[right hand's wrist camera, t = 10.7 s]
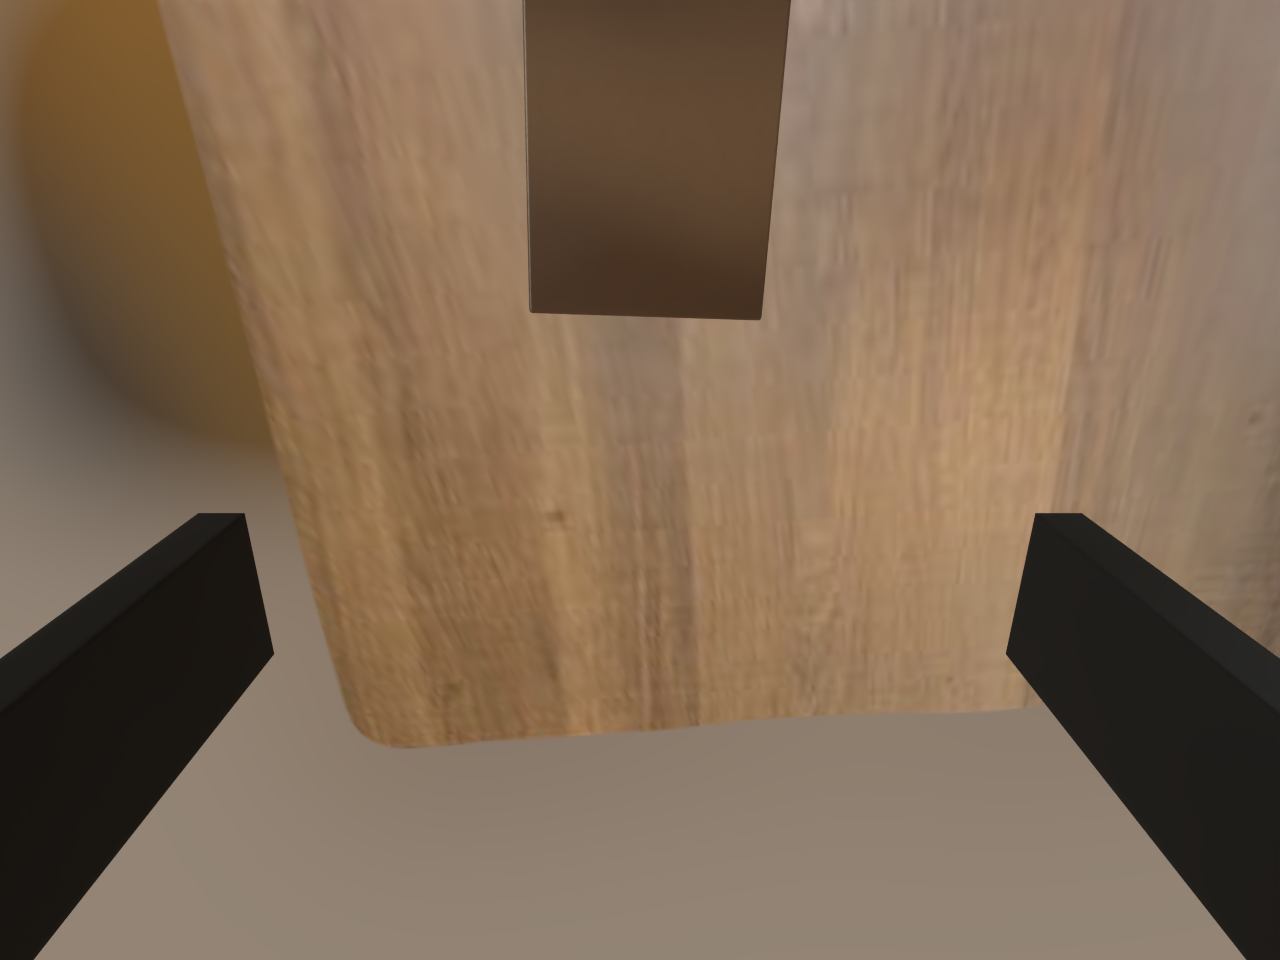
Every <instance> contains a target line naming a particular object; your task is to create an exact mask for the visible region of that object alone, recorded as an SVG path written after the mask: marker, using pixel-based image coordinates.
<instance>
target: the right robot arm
mask: <svg viewBox="0 0 1280 960" xmlns="http://www.w3.org/2000/svg"><path fill="white" fill-rule="evenodd" d="M273 655H274V651H273V646H272V641H271V637H270V632H269V627H268V622H267V618H266V613H265V608H264V603H263V599H262V594H261V589H260V585H259V580H258V575H257V570H256V566H255V561H254V556H253V551H252V547H251V542H250V537H249V532H248V528H247V523H246V518H245V514H244V513H198V514H197V515H195V516H194V517H193V518H191V519H190V520H189V521H187V522H186V523H184V524H183V525H182V526H180V527H179V528H178V529H176V530H175V531H174V532H172V533H171V534H169V535H168V536H167V537H165V538H164V539H163V540H161V541H160V542H159V543H157V544H156V545H154V546H153V547H152V548H151V549H149V550H148V551H146V552H145V553H144V554H142V555H141V556H139V557H138V558H137V559H135V560H134V561H133V562H131V563H130V564H129V565H127V566H126V567H125V568H123V569H122V570H120V571H119V572H118V573H116V574H115V575H114V576H112V577H111V578H110V579H108V580H107V581H105V582H104V583H103V584H101V585H100V586H99V587H97V588H96V589H95V590H93V591H92V592H90V593H89V594H88V595H86V596H85V597H84V598H82V599H81V600H80V601H78V602H77V603H76V604H74V605H73V606H71V607H70V608H69V609H67V610H66V611H65V612H63V613H62V614H61V615H59V616H58V617H56V618H55V619H54V620H52V621H51V622H50V623H48V624H47V625H46V626H44V627H43V628H41V629H40V630H39V631H37V632H36V633H35V634H33V635H32V636H31V637H29V638H28V639H26V640H25V641H24V642H22V643H21V644H20V645H18V646H17V647H16V648H14V649H13V650H12V651H10V652H9V653H7V654H6V655H5V656H3V657H2V658H1V659H0V960H34V959H35V957H36V956H37V955H38V953H39V952H40V951H41V950H42V948H43V947H44V946H45V945H46V943H47V942H48V941H49V939H50V938H51V937H52V936H53V934H54V933H55V932H56V931H57V929H58V928H59V927H60V926H61V924H62V923H63V922H64V920H65V919H66V918H67V917H68V915H69V914H70V913H71V911H72V910H73V909H74V908H75V906H76V905H77V904H78V903H79V901H80V900H81V899H82V898H83V896H84V895H85V894H86V892H87V891H88V890H89V889H90V887H91V886H92V885H93V884H94V882H95V881H96V880H97V879H98V877H99V876H100V875H101V873H102V872H103V871H104V870H105V868H106V867H107V866H108V864H109V863H110V862H111V861H112V859H113V858H114V857H115V856H116V854H117V853H118V852H119V851H120V849H121V848H122V847H123V845H124V844H125V843H126V842H127V840H128V839H129V838H130V837H131V835H132V834H133V833H134V831H135V830H136V829H137V828H138V826H139V825H140V824H141V823H142V821H143V820H144V819H145V817H146V816H147V815H148V814H149V812H150V811H151V810H152V809H153V807H154V806H155V805H156V803H157V802H158V801H159V800H160V798H161V797H162V796H163V795H164V793H165V792H166V791H167V789H168V788H169V787H170V786H171V784H172V783H173V782H174V781H175V779H176V778H177V777H178V776H179V774H180V773H181V772H182V770H183V769H184V768H185V767H186V765H187V764H188V763H189V762H190V760H191V759H192V758H193V756H194V755H195V754H196V753H197V751H198V750H199V749H200V748H201V746H202V745H203V744H204V742H205V741H206V740H207V739H208V737H209V736H210V735H211V734H212V732H213V731H214V730H215V728H216V727H217V726H218V725H219V723H220V722H221V721H222V720H223V718H224V717H225V716H226V714H227V713H228V712H229V711H230V709H231V708H232V707H233V706H234V704H235V703H236V702H237V701H238V699H239V698H240V697H241V695H242V694H243V693H244V692H245V690H246V689H247V688H248V687H249V685H250V684H251V683H252V681H253V680H254V679H255V678H256V676H257V675H258V674H259V673H260V671H261V670H262V669H263V667H264V666H265V665H266V664H267V662H268V661H269V660H270V659H271V657H272V656H273ZM1006 655H1007V656H1008V657H1009V659H1010V660H1011V661H1012V662H1013V664H1014V665H1015V666H1016V667H1017V669H1018V670H1019V671H1020V673H1021V674H1022V675H1023V676H1024V678H1025V679H1026V680H1027V681H1028V683H1029V684H1030V685H1031V687H1032V688H1033V689H1034V690H1035V692H1036V693H1037V694H1038V695H1039V697H1040V698H1041V699H1042V701H1043V702H1044V703H1045V704H1046V706H1047V707H1048V708H1049V709H1050V711H1051V712H1052V713H1053V715H1054V716H1055V717H1056V718H1057V720H1058V721H1059V722H1060V723H1061V725H1062V726H1063V727H1064V729H1065V730H1066V731H1067V732H1068V734H1069V735H1070V736H1071V737H1072V739H1073V740H1074V741H1075V742H1076V744H1077V745H1078V746H1079V748H1080V749H1081V750H1082V751H1083V753H1084V754H1085V755H1086V756H1087V758H1088V759H1089V760H1090V762H1091V763H1092V764H1093V765H1094V767H1095V768H1096V769H1097V770H1098V772H1099V773H1100V774H1101V776H1102V777H1103V778H1104V779H1105V781H1106V782H1107V783H1108V784H1109V786H1110V787H1111V788H1112V790H1113V791H1114V792H1115V793H1116V795H1117V796H1118V797H1119V798H1120V800H1121V801H1122V802H1123V804H1124V805H1125V806H1126V807H1127V809H1128V810H1129V811H1130V812H1131V814H1132V815H1133V816H1134V817H1135V819H1136V820H1137V821H1138V823H1139V824H1140V825H1141V826H1142V828H1143V829H1144V830H1145V831H1146V833H1147V834H1148V835H1149V837H1150V838H1151V839H1152V840H1153V842H1154V843H1155V844H1156V845H1157V847H1158V848H1159V849H1160V851H1161V852H1162V853H1163V854H1164V856H1165V857H1166V858H1167V859H1168V861H1169V862H1170V863H1171V864H1172V866H1173V867H1174V868H1175V870H1176V871H1177V872H1178V873H1179V875H1180V876H1181V877H1182V879H1183V880H1184V881H1185V882H1186V884H1187V885H1188V886H1189V887H1190V889H1191V890H1192V891H1193V892H1194V894H1195V895H1196V896H1197V898H1198V899H1199V900H1200V901H1201V903H1202V904H1203V905H1204V906H1205V908H1206V909H1207V910H1208V912H1209V913H1210V914H1211V915H1212V917H1213V918H1214V919H1215V920H1216V922H1217V923H1218V924H1219V925H1220V927H1221V928H1222V929H1223V931H1224V932H1225V933H1226V934H1227V936H1228V937H1229V938H1230V940H1231V941H1232V942H1233V943H1234V945H1235V946H1236V947H1237V948H1238V950H1239V951H1240V952H1241V954H1242V955H1243V956H1244V957H1245V959H1246V960H1280V659H1279V658H1278V657H1277V656H1275V655H1274V654H1273V653H1271V652H1270V651H1268V650H1267V649H1266V648H1264V647H1263V646H1262V645H1260V644H1259V643H1258V642H1256V641H1255V640H1254V639H1252V638H1251V637H1249V636H1248V635H1247V634H1245V633H1244V632H1243V631H1241V630H1240V629H1239V628H1237V627H1236V626H1234V625H1233V624H1232V623H1230V622H1229V621H1228V620H1226V619H1225V618H1224V617H1222V616H1221V615H1219V614H1218V613H1217V612H1215V611H1214V610H1213V609H1211V608H1210V607H1209V606H1207V605H1206V604H1204V603H1203V602H1202V601H1200V600H1199V599H1198V598H1196V597H1195V596H1194V595H1192V594H1191V593H1190V592H1188V591H1187V590H1185V589H1184V588H1183V587H1181V586H1180V585H1179V584H1177V583H1176V582H1175V581H1173V580H1172V579H1170V578H1169V577H1168V576H1166V575H1165V574H1164V573H1162V572H1161V571H1160V570H1158V569H1157V568H1155V567H1154V566H1153V565H1151V564H1150V563H1149V562H1147V561H1146V560H1145V559H1143V558H1142V557H1140V556H1139V555H1138V554H1136V553H1135V552H1134V551H1132V550H1131V549H1130V548H1128V547H1127V546H1126V545H1124V544H1123V543H1121V542H1120V541H1119V540H1117V539H1116V538H1115V537H1113V536H1112V535H1111V534H1109V533H1108V532H1106V531H1105V530H1104V529H1102V528H1101V527H1100V526H1098V525H1097V524H1096V523H1094V522H1093V521H1091V520H1090V519H1089V518H1087V517H1086V516H1085V515H1083V514H1082V513H1035V518H1034V523H1033V528H1032V532H1031V537H1030V542H1029V547H1028V551H1027V556H1026V561H1025V565H1024V570H1023V575H1022V580H1021V584H1020V589H1019V594H1018V599H1017V603H1016V608H1015V613H1014V618H1013V622H1012V627H1011V632H1010V637H1009V641H1008V646H1007V651H1006Z"/></svg>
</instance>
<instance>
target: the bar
mask: <svg viewBox="0 0 1280 960" xmlns="http://www.w3.org/2000/svg"><path fill="white" fill-rule="evenodd" d="M790 4H791V0H523V42H524V88H525V133H526V178H527V224H528V269H529V310H530V312H531V313H550V314H580V315H611V316H642V317H672V318H703V319H734V320H760V319H761V316H762V306H763V295H764V284H765V273H766V263H767V252H768V241H769V230H770V220H771V209H772V198H773V187H774V177H775V166H776V155H777V144H778V133H779V123H780V112H781V101H782V90H783V80H784V69H785V58H786V47H787V37H788V26H789V15H790Z"/></svg>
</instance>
